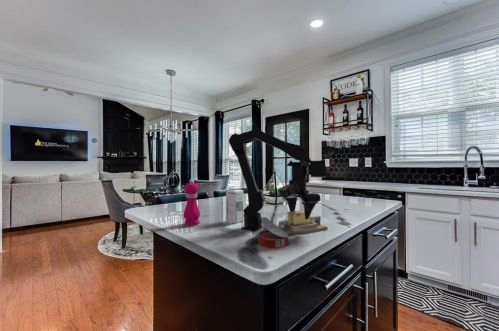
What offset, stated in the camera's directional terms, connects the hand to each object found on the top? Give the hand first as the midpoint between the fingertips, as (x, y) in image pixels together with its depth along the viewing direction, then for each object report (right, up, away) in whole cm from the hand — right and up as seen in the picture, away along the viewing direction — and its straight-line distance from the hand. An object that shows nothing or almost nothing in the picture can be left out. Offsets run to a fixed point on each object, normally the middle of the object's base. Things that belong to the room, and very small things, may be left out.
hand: (299, 216), depth 96 cm
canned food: (-12, -6, -15) cm, 20 cm away
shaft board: (0, -5, 0) cm, 5 cm away
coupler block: (0, -4, 0) cm, 4 cm away
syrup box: (-26, -6, +15) cm, 31 cm away
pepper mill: (-45, -6, +11) cm, 47 cm away
